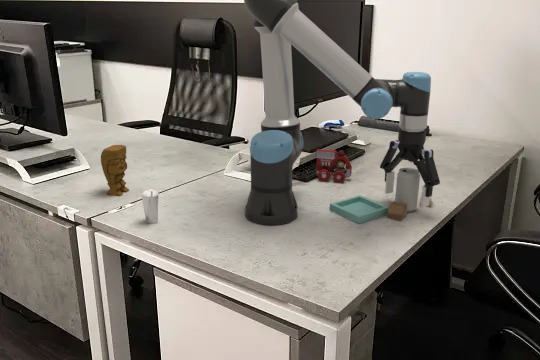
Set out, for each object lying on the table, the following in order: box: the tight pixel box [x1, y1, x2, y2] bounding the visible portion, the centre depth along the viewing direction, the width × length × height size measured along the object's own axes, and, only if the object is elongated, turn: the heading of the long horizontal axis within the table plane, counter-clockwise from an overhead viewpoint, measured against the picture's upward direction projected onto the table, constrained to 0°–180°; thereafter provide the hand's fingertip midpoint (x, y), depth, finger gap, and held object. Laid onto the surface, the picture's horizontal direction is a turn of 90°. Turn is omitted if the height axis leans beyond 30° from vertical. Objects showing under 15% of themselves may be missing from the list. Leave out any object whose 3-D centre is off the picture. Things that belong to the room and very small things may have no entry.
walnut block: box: [386, 200, 408, 222], centre depth 148 cm, size 4×4×4 cm
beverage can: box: [394, 167, 421, 213], centre depth 152 cm, size 6×6×12 cm
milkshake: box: [141, 188, 159, 224], centre depth 143 cm, size 4×5×10 cm
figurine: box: [100, 144, 130, 197], centre depth 164 cm, size 7×7×15 cm
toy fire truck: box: [315, 148, 353, 184], centre depth 177 cm, size 7×12×10 cm, turn 76°
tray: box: [329, 194, 388, 225], centre depth 152 cm, size 12×12×2 cm
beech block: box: [419, 193, 433, 208], centre depth 157 cm, size 5×3×3 cm, turn 160°
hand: (406, 199), depth 153 cm, fingers open, 13 cm apart
